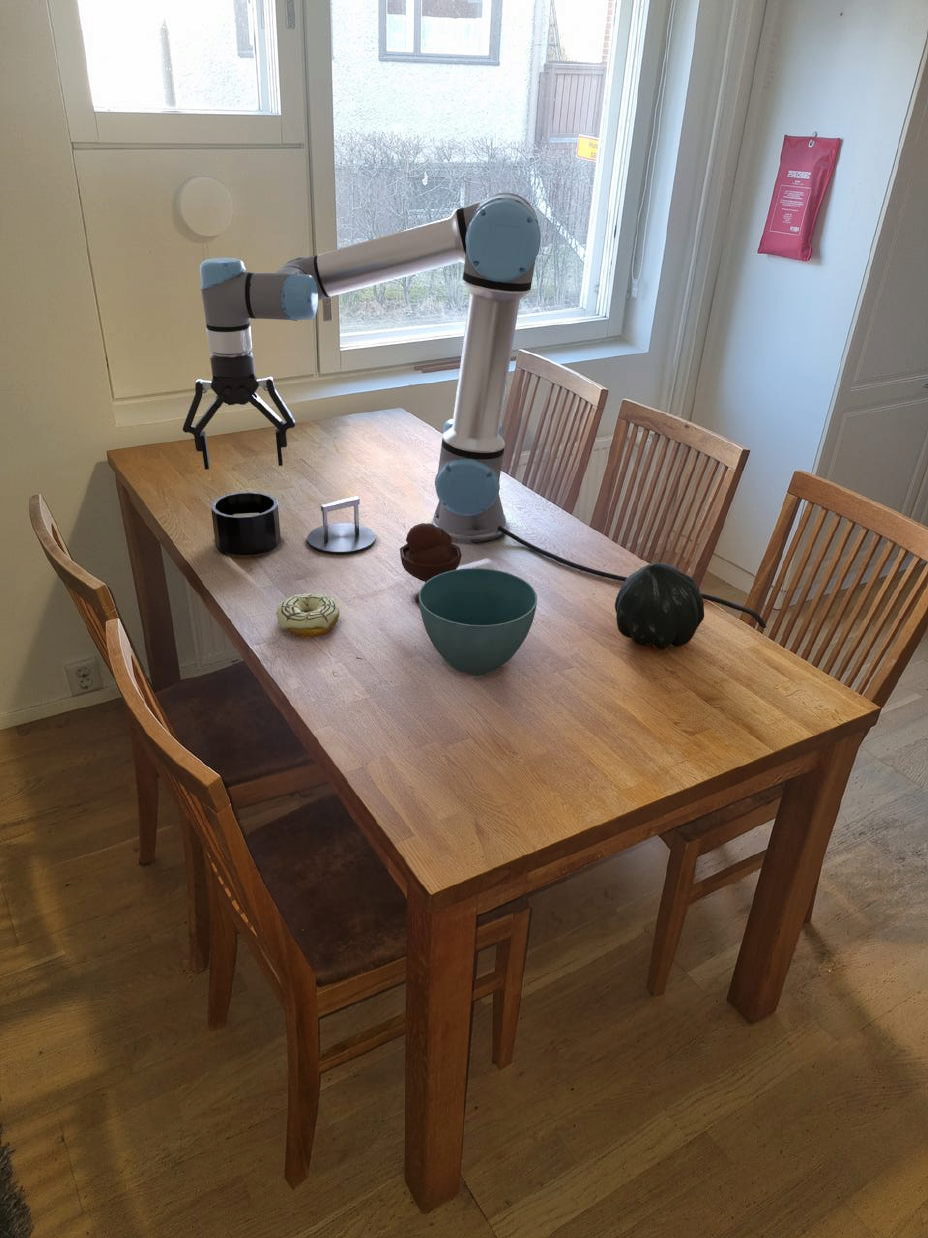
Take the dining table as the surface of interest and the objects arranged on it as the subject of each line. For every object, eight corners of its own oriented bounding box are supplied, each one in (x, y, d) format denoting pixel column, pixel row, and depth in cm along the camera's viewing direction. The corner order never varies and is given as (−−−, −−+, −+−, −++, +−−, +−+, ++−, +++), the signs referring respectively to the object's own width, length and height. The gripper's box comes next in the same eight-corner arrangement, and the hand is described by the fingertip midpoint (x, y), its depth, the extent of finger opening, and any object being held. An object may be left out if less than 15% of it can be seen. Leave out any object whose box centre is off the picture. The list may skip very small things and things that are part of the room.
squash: (718, 595, 155) (669, 530, 151) (720, 642, 143) (667, 573, 139) (648, 632, 162) (599, 572, 158) (645, 681, 150) (592, 616, 145)
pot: (291, 548, 178) (288, 508, 174) (231, 563, 172) (226, 522, 168) (264, 525, 187) (261, 487, 183) (206, 539, 181) (201, 499, 176)
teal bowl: (495, 708, 134) (499, 637, 128) (396, 669, 142) (395, 601, 136) (551, 653, 148) (557, 587, 142) (457, 621, 156) (459, 557, 150)
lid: (388, 547, 180) (387, 506, 176) (327, 563, 173) (325, 521, 169) (354, 523, 190) (353, 483, 185) (296, 537, 183) (293, 496, 178)
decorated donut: (274, 641, 149) (272, 621, 147) (281, 608, 158) (279, 589, 156) (337, 640, 149) (336, 620, 147) (341, 607, 159) (340, 588, 157)
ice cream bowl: (454, 617, 157) (456, 539, 149) (392, 609, 159) (391, 531, 151) (466, 589, 166) (468, 514, 158) (407, 582, 168) (407, 507, 160)
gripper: (301, 344, 166) (310, 455, 176) (160, 348, 162) (178, 461, 172) (302, 354, 159) (311, 468, 170) (156, 359, 155) (174, 475, 166)
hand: (244, 465), depth 171 cm, fingers open, 13 cm apart
